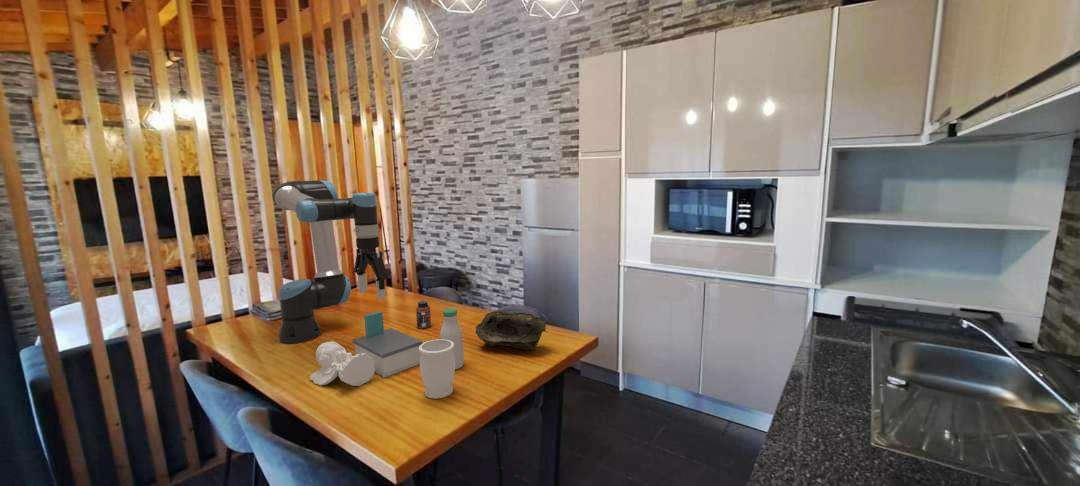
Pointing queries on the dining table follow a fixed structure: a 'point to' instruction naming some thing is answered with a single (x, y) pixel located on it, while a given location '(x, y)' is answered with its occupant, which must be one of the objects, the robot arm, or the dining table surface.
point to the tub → (393, 361)
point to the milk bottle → (453, 335)
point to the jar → (437, 367)
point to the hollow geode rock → (511, 330)
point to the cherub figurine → (342, 365)
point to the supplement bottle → (423, 315)
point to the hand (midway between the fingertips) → (372, 295)
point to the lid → (383, 338)
